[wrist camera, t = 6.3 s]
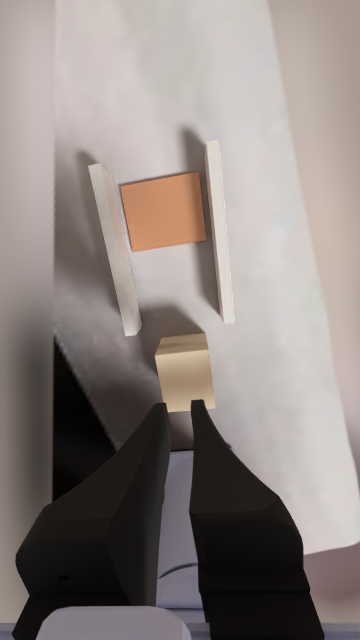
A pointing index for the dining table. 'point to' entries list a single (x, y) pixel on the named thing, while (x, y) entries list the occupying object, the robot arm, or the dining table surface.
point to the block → (184, 371)
